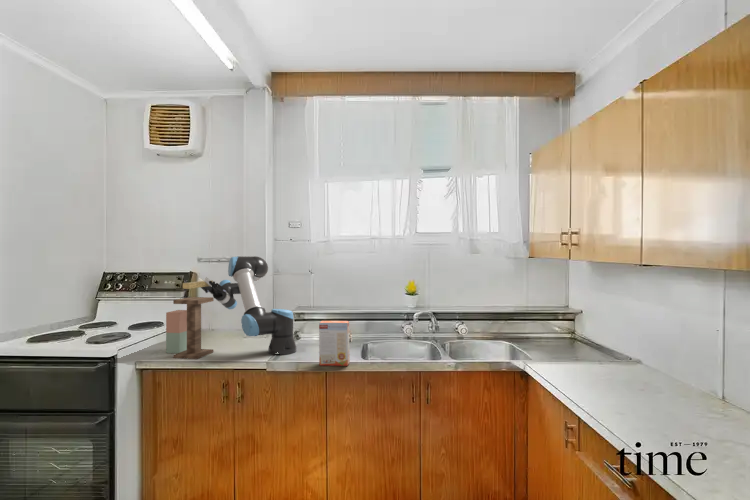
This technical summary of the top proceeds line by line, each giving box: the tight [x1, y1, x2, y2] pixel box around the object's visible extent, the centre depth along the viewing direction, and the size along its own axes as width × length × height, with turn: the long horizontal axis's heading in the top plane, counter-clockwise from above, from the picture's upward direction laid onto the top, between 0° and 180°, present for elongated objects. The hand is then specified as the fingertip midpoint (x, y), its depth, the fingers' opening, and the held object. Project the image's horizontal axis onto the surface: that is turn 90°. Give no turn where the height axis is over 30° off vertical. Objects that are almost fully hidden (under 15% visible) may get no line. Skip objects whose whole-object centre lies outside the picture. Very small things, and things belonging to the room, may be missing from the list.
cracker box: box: [318, 320, 351, 367], centre depth 191 cm, size 14×6×21 cm, turn 84°
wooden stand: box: [172, 296, 215, 360], centre depth 209 cm, size 14×14×30 cm
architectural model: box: [349, 329, 353, 343], centre depth 240 cm, size 3×7×7 cm, turn 71°
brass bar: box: [182, 280, 214, 290], centre depth 226 cm, size 4×22×3 cm, turn 170°
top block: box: [165, 309, 187, 334], centre depth 219 cm, size 8×10×11 cm
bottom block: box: [165, 331, 187, 354], centre depth 218 cm, size 8×10×11 cm
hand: (201, 279), depth 229 cm, fingers closed on brass bar, 4 cm apart
